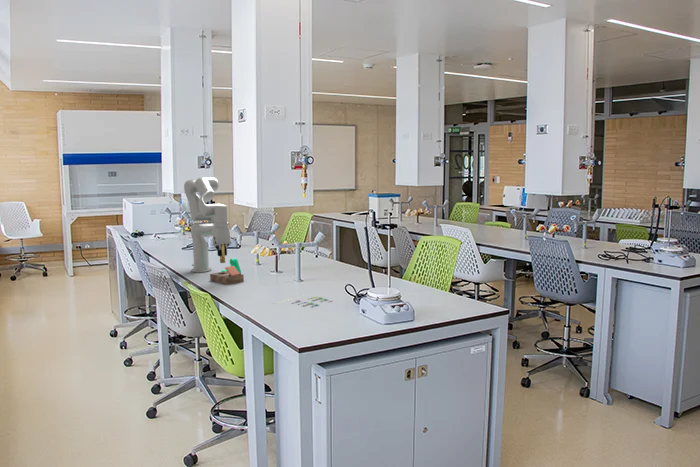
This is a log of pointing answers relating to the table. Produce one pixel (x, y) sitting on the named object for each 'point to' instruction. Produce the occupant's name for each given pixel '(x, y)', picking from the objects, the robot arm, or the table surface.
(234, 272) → the orange flat plate
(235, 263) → the camera mount
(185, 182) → the robot arm
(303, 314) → the table surface
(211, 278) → the hitch block
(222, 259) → the brass pin
